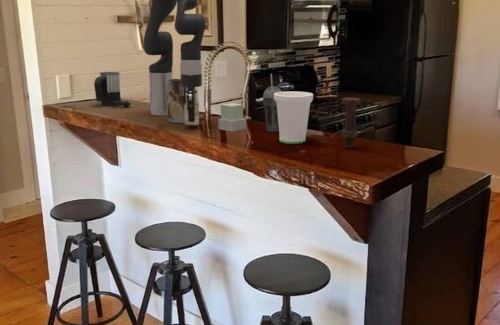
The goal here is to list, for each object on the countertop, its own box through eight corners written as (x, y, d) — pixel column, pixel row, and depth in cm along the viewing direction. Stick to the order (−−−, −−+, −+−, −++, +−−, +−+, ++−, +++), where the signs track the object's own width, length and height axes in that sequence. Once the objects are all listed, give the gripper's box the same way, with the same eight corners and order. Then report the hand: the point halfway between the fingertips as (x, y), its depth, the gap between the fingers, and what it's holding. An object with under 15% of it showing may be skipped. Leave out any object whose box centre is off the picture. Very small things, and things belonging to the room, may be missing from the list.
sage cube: (220, 118, 189) (220, 104, 188) (232, 116, 193) (231, 103, 192) (231, 120, 186) (231, 106, 184) (242, 118, 189) (242, 104, 188)
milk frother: (106, 103, 249) (103, 71, 245) (138, 103, 247) (136, 71, 243) (93, 107, 235) (90, 74, 231) (127, 108, 233) (125, 74, 229)
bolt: (353, 150, 159) (355, 100, 155) (337, 148, 162) (339, 99, 158) (360, 146, 164) (362, 98, 160) (344, 144, 167) (347, 96, 163)
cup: (319, 141, 171) (321, 93, 167) (294, 147, 163) (295, 97, 159) (290, 135, 180) (291, 90, 176) (265, 141, 171) (265, 93, 167)
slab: (218, 129, 190) (218, 118, 189) (232, 127, 195) (232, 116, 194) (232, 132, 185) (232, 121, 184) (246, 129, 190) (246, 118, 189)
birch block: (185, 122, 194) (185, 103, 192) (199, 122, 194) (198, 103, 192) (184, 124, 189) (184, 105, 187) (198, 124, 190) (198, 105, 188)
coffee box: (196, 121, 204) (195, 79, 200) (187, 124, 199) (185, 81, 195) (176, 119, 208) (175, 78, 204) (167, 121, 203) (165, 79, 199)
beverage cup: (287, 130, 188) (288, 73, 183) (273, 133, 183) (274, 74, 178) (271, 127, 193) (272, 72, 188) (258, 130, 188) (258, 73, 182)
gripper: (182, 70, 194) (183, 116, 198) (178, 74, 180) (179, 124, 184) (202, 70, 194) (203, 116, 198) (200, 74, 180) (201, 124, 185)
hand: (192, 119), depth 191 cm, fingers closed on birch block, 4 cm apart
